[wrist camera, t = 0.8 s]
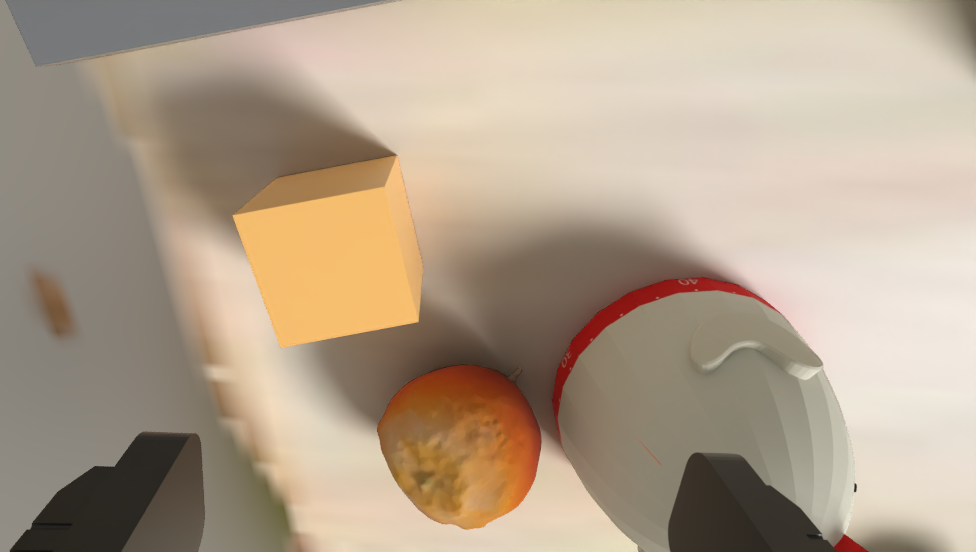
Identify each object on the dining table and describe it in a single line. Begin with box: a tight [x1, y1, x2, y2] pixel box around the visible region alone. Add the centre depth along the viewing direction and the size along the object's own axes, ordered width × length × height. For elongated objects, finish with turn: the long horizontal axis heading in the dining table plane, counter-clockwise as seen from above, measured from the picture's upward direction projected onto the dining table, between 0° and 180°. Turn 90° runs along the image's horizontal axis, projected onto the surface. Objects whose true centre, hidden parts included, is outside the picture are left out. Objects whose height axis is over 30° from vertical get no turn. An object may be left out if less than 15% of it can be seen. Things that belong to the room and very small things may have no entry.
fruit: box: [377, 365, 541, 530], centre depth 29 cm, size 8×8×8 cm
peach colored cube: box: [232, 155, 423, 348], centre depth 25 cm, size 6×6×6 cm
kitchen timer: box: [552, 278, 868, 552], centre depth 26 cm, size 14×14×15 cm
